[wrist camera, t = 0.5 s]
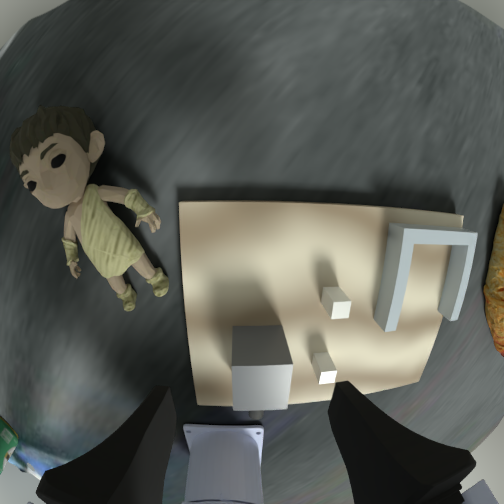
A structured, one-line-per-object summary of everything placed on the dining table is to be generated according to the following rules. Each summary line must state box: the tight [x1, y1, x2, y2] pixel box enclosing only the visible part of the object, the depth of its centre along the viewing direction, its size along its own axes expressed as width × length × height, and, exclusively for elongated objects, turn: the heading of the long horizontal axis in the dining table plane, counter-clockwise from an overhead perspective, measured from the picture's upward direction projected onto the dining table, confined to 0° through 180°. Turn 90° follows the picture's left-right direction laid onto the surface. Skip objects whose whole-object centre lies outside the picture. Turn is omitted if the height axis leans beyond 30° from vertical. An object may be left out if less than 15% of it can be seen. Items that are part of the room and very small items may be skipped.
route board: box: [179, 200, 463, 406], centre depth 20 cm, size 17×22×1 cm
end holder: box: [374, 223, 477, 332], centre depth 18 cm, size 8×8×2 cm
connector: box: [232, 325, 293, 420], centre depth 18 cm, size 8×4×4 cm, turn 179°
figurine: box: [10, 105, 169, 311], centre depth 15 cm, size 8×6×15 cm
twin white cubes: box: [312, 286, 351, 384], centre depth 18 cm, size 7×1×2 cm, turn 179°
